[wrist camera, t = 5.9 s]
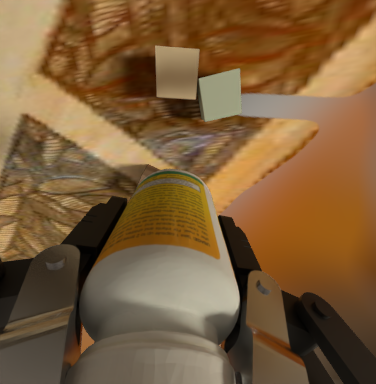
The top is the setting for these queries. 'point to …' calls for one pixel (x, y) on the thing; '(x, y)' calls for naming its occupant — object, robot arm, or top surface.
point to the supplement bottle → (160, 291)
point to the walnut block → (148, 172)
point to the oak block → (176, 72)
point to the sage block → (220, 95)
